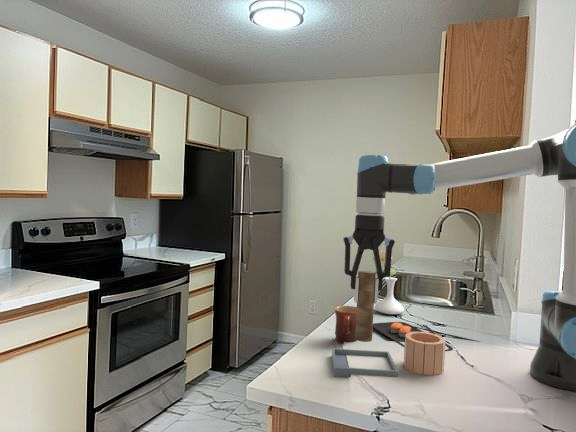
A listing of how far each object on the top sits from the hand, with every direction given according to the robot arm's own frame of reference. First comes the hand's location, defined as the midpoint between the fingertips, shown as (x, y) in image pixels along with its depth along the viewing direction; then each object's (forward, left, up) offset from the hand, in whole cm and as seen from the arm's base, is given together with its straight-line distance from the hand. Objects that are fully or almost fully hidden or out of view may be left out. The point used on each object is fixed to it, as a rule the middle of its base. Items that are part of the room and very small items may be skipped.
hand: (365, 301), depth 118 cm
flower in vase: (-16, -58, -18) cm, 63 cm away
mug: (+3, -19, -18) cm, 26 cm away
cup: (-16, 0, -18) cm, 24 cm away
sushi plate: (-25, -29, -19) cm, 43 cm away
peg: (0, 0, -10) cm, 10 cm away
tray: (0, 0, -18) cm, 18 cm away
